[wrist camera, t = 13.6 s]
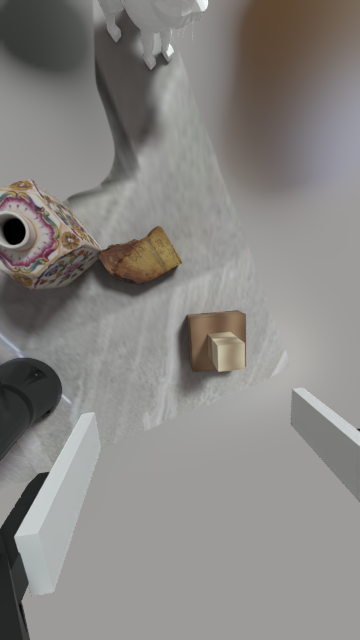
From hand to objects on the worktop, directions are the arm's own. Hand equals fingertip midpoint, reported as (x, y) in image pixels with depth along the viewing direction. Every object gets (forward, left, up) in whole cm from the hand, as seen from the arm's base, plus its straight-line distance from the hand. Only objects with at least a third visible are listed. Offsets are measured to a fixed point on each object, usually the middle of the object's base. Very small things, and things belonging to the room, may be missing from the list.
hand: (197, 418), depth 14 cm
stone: (-5, +13, -37) cm, 40 cm away
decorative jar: (-20, +16, -37) cm, 45 cm away
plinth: (+10, -6, -37) cm, 39 cm away
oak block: (+10, -6, -32) cm, 34 cm away
